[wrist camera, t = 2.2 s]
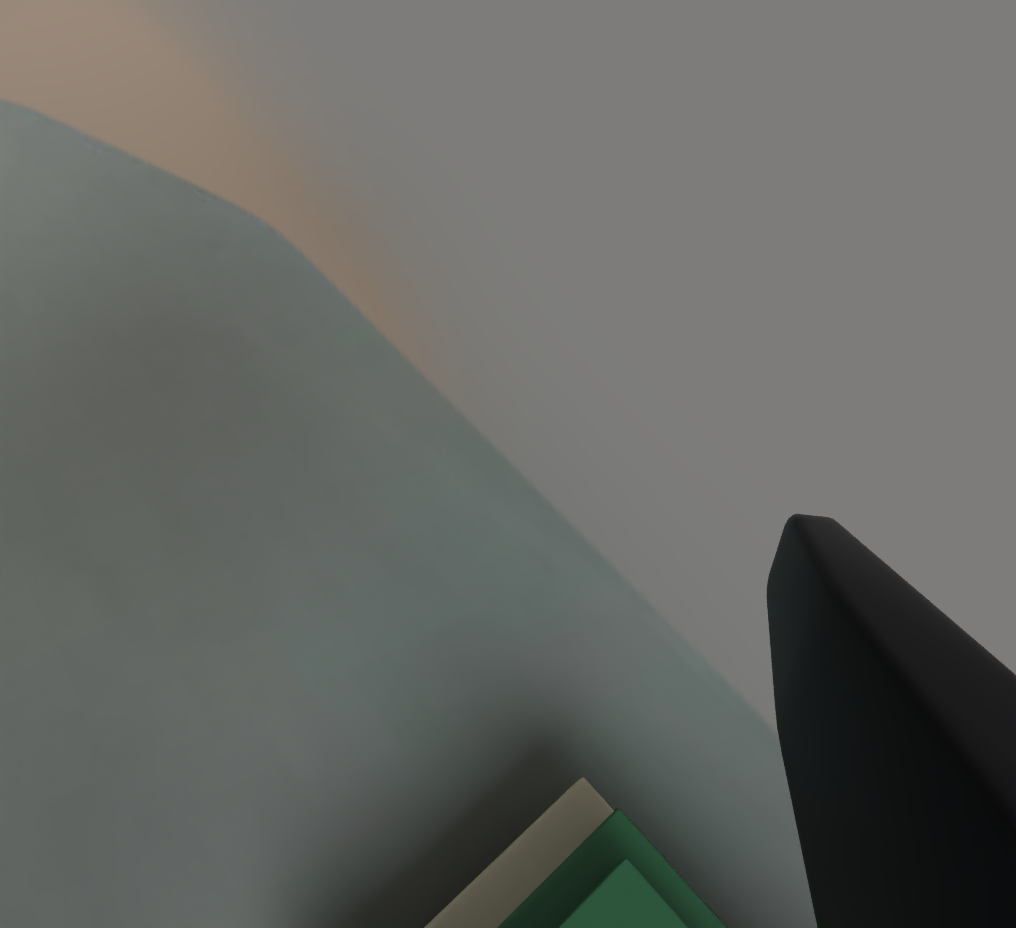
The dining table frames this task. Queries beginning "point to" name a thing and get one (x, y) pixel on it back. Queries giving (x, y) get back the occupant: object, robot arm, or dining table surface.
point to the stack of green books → (578, 876)
